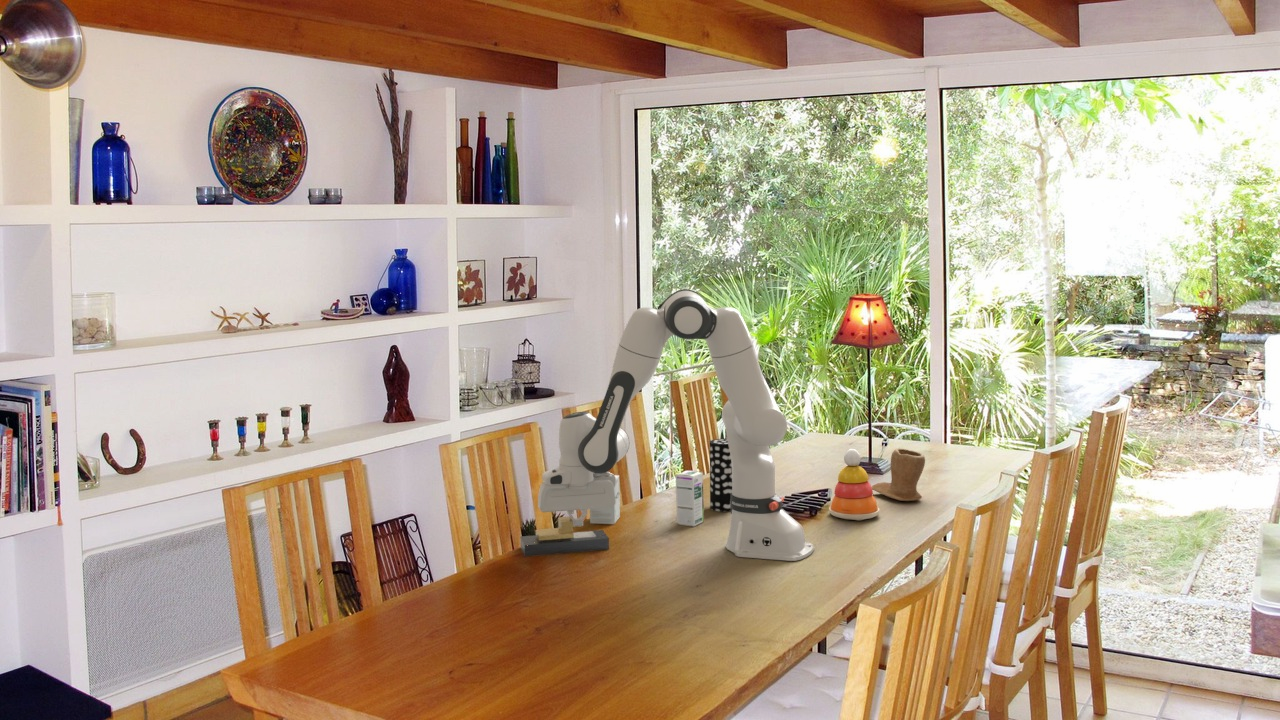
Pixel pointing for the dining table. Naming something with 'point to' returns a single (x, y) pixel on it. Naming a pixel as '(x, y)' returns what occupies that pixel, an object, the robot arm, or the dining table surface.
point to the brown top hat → (903, 476)
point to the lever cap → (557, 530)
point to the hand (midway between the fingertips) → (577, 525)
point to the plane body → (565, 543)
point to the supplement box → (607, 510)
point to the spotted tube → (720, 475)
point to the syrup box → (689, 498)
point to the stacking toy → (853, 491)
